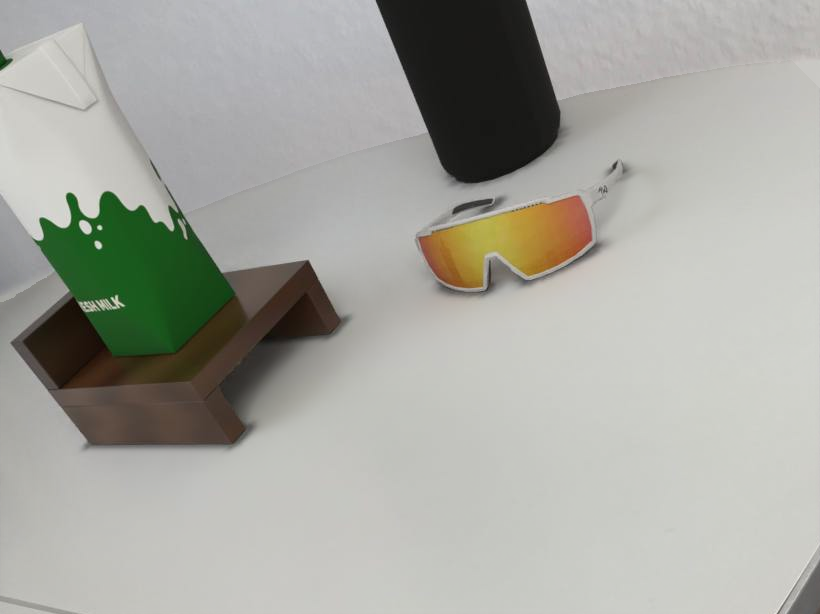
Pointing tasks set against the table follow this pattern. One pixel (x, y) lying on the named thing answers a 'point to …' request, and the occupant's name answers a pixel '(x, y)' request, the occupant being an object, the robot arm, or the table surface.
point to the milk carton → (100, 201)
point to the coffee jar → (476, 82)
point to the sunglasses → (512, 236)
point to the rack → (171, 361)
